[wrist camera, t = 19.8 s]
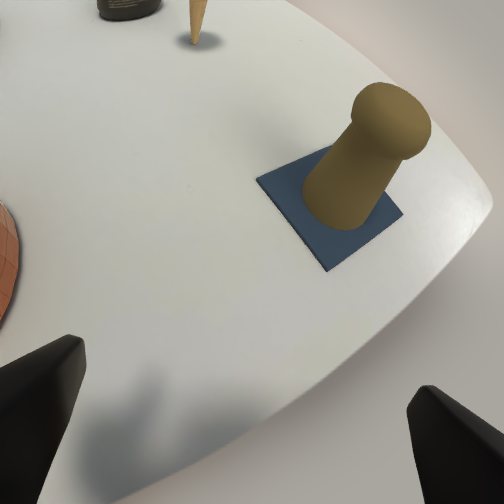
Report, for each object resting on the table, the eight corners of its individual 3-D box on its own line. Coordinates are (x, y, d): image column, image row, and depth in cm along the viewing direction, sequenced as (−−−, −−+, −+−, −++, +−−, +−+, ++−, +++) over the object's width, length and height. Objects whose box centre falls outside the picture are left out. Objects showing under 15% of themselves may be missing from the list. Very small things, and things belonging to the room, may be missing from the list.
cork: (368, 239, 24) (454, 155, 15) (297, 218, 24) (361, 111, 14) (369, 181, 27) (435, 94, 17) (306, 159, 27) (357, 57, 17)
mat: (326, 272, 23) (328, 270, 23) (255, 180, 25) (256, 178, 25) (401, 216, 27) (403, 214, 26) (339, 143, 29) (340, 141, 28)
